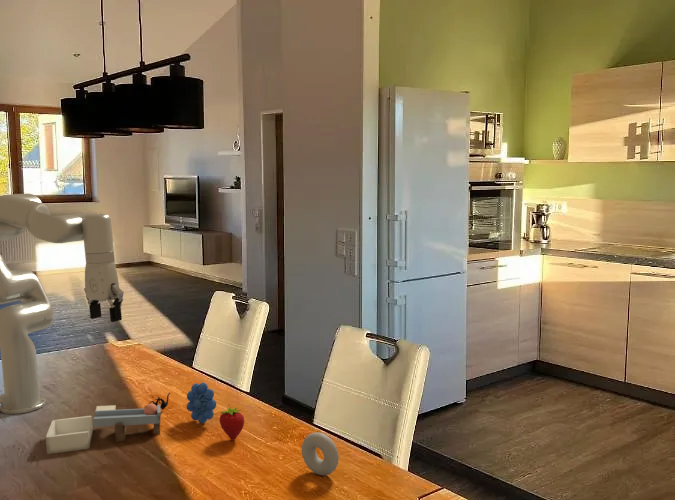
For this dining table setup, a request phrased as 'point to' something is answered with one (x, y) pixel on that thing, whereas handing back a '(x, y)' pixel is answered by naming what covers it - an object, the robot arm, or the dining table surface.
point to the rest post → (156, 429)
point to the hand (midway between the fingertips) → (106, 319)
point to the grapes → (201, 402)
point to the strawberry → (232, 422)
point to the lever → (123, 416)
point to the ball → (150, 409)
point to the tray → (69, 434)
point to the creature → (163, 406)
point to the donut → (328, 450)
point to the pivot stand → (120, 432)
